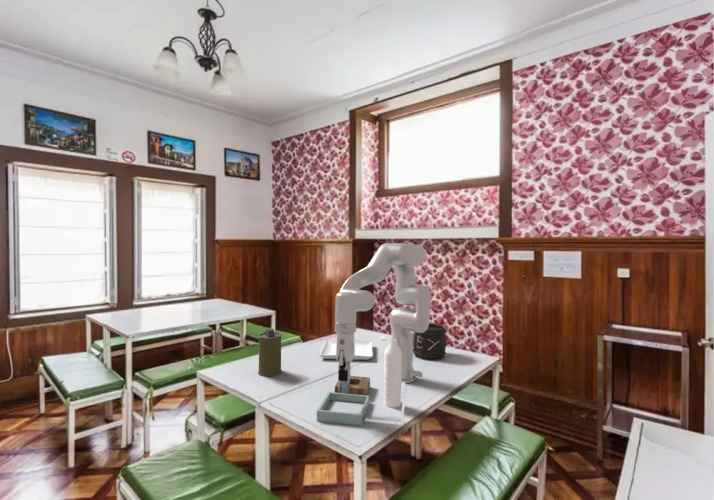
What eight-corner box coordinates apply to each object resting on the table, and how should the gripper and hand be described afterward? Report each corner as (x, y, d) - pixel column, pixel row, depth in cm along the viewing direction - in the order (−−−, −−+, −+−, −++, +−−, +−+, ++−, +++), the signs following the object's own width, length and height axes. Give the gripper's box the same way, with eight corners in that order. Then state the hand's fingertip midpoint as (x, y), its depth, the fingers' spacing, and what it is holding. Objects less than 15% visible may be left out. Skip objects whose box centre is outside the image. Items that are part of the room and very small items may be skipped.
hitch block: (369, 389, 152) (370, 377, 152) (365, 402, 141) (365, 389, 140) (341, 386, 154) (341, 375, 154) (334, 399, 143) (334, 386, 143)
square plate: (325, 345, 214) (325, 339, 214) (372, 347, 213) (372, 340, 213) (318, 361, 187) (318, 353, 187) (372, 363, 186) (372, 355, 186)
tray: (369, 405, 138) (369, 395, 138) (362, 425, 123) (362, 415, 123) (328, 401, 141) (328, 392, 141) (316, 420, 126) (316, 410, 125)
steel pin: (353, 388, 134) (353, 355, 133) (350, 395, 128) (350, 360, 128) (338, 387, 135) (338, 354, 134) (334, 393, 129) (335, 358, 129)
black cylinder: (404, 353, 201) (405, 325, 200) (428, 348, 211) (429, 321, 210) (428, 363, 186) (428, 332, 185) (452, 357, 196) (453, 328, 195)
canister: (284, 373, 168) (285, 330, 167) (262, 378, 163) (262, 333, 162) (276, 366, 177) (277, 325, 177) (255, 370, 172) (255, 327, 171)
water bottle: (404, 405, 138) (405, 339, 137) (394, 411, 133) (396, 343, 132) (384, 399, 143) (385, 335, 143) (374, 405, 138) (376, 338, 137)
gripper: (351, 333, 122) (349, 388, 122) (360, 322, 138) (358, 371, 139) (329, 332, 123) (328, 386, 124) (340, 321, 140) (339, 369, 140)
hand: (344, 377), depth 131 cm, fingers closed on steel pin, 4 cm apart
